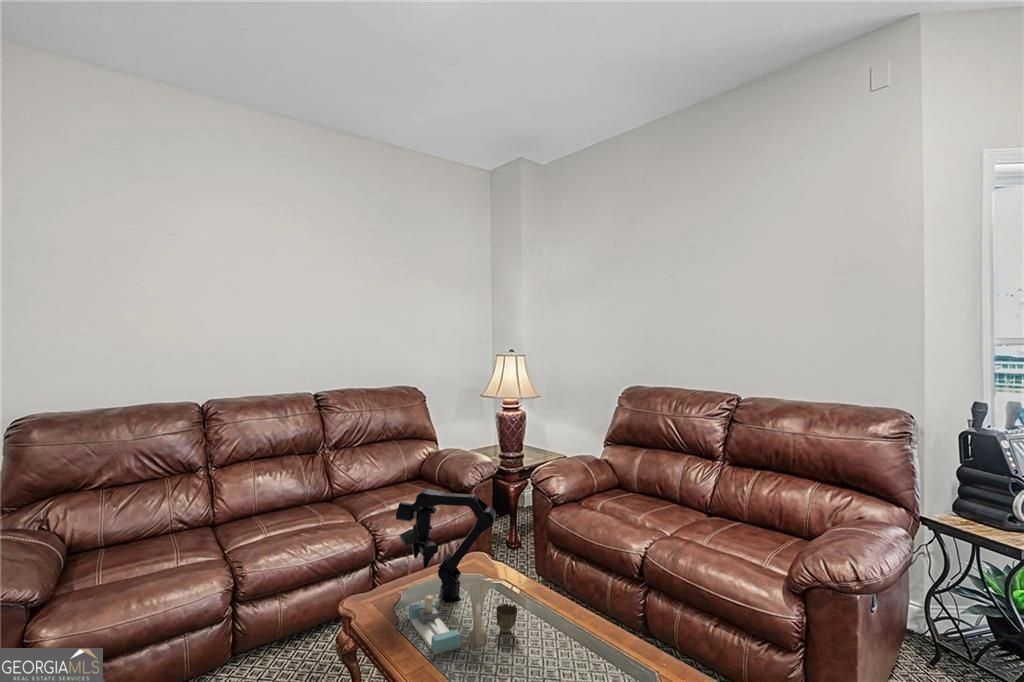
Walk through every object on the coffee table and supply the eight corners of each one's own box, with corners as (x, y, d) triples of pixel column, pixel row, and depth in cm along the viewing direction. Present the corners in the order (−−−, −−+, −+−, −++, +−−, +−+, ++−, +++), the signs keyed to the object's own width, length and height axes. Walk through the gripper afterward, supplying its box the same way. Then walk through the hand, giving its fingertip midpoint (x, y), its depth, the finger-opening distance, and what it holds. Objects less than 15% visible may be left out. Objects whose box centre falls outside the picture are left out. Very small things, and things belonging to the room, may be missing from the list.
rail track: (431, 612, 191) (432, 600, 191) (460, 647, 171) (461, 634, 171) (408, 618, 186) (409, 605, 186) (434, 654, 166) (435, 640, 166)
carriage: (432, 614, 186) (434, 592, 186) (437, 621, 183) (439, 598, 183) (417, 618, 183) (418, 595, 183) (421, 625, 180) (423, 602, 179)
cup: (494, 624, 186) (496, 602, 186) (514, 625, 187) (516, 603, 187) (495, 637, 179) (497, 613, 179) (516, 637, 179) (518, 614, 179)
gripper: (394, 517, 207) (391, 556, 207) (412, 534, 191) (409, 577, 191) (421, 513, 213) (418, 552, 213) (440, 530, 197) (437, 571, 197)
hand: (420, 562), depth 203 cm, fingers open, 9 cm apart
